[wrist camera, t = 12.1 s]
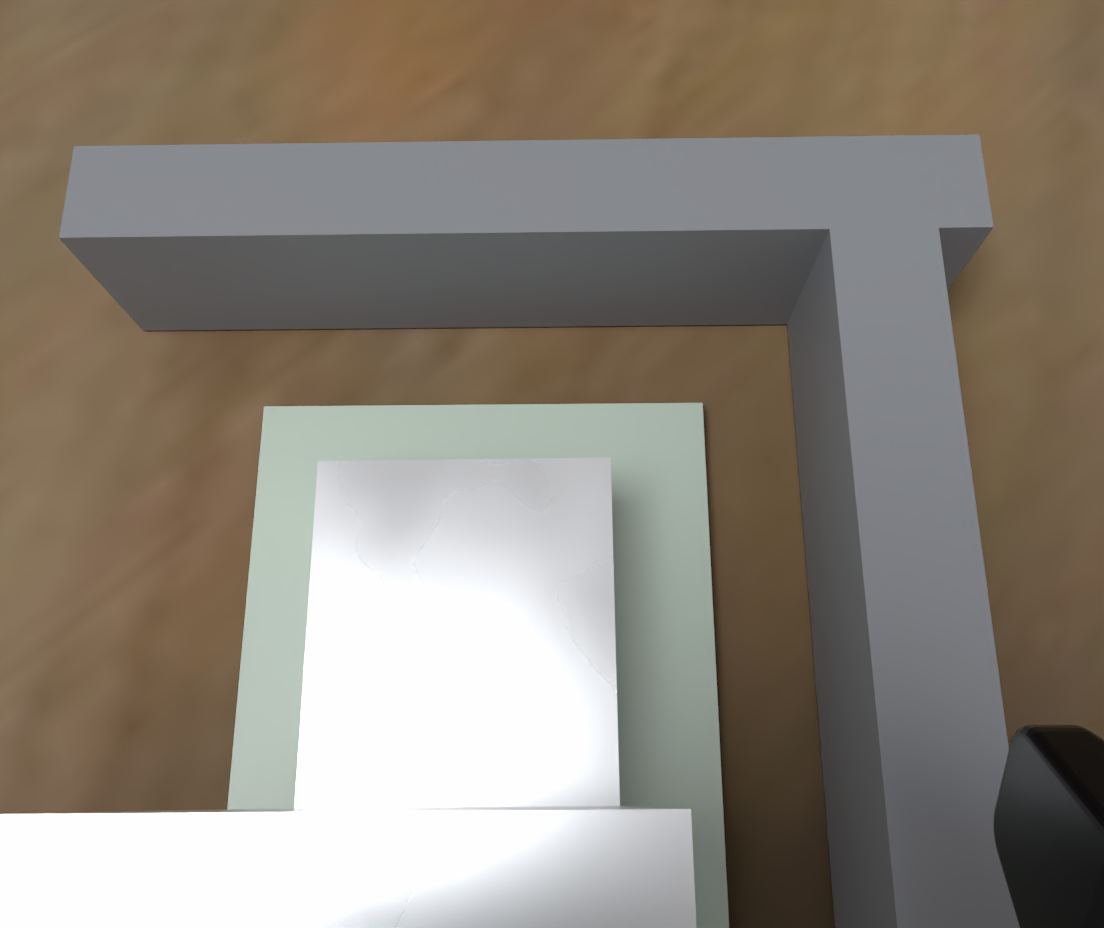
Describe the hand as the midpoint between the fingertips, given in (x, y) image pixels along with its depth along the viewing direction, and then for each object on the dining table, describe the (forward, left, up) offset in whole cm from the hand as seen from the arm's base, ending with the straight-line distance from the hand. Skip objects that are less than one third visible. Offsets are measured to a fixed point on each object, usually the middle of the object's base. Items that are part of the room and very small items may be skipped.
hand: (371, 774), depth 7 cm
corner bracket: (-1, -2, -8) cm, 8 cm away
